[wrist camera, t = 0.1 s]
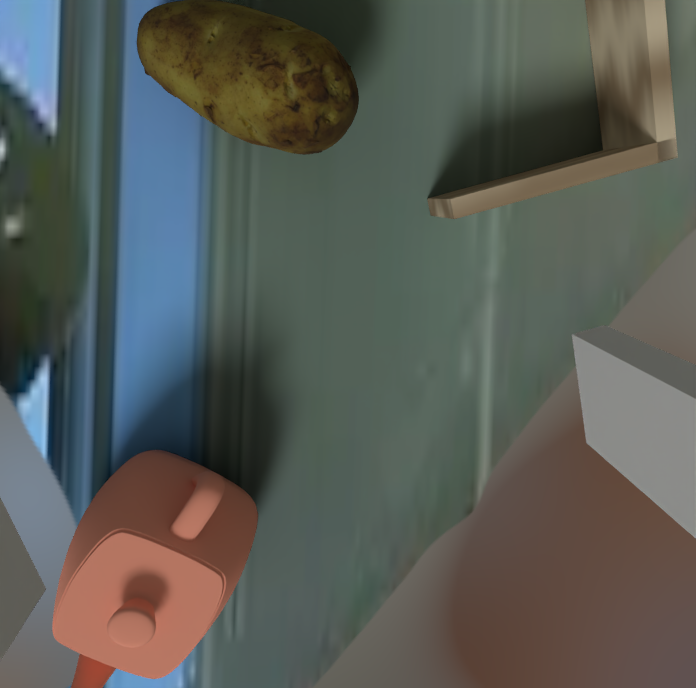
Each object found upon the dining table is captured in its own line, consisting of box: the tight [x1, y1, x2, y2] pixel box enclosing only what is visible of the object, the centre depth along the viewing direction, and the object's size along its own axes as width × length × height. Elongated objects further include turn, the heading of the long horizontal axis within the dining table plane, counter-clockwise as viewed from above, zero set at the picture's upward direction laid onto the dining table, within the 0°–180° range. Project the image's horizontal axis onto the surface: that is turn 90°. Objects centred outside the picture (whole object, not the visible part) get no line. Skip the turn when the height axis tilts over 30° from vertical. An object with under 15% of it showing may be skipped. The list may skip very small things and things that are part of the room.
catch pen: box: [427, 0, 678, 219], centre depth 33 cm, size 22×14×6 cm, turn 15°
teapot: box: [53, 450, 258, 688], centre depth 37 cm, size 20×12×12 cm, turn 148°
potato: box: [137, 0, 359, 154], centre depth 31 cm, size 8×13×8 cm, turn 48°
